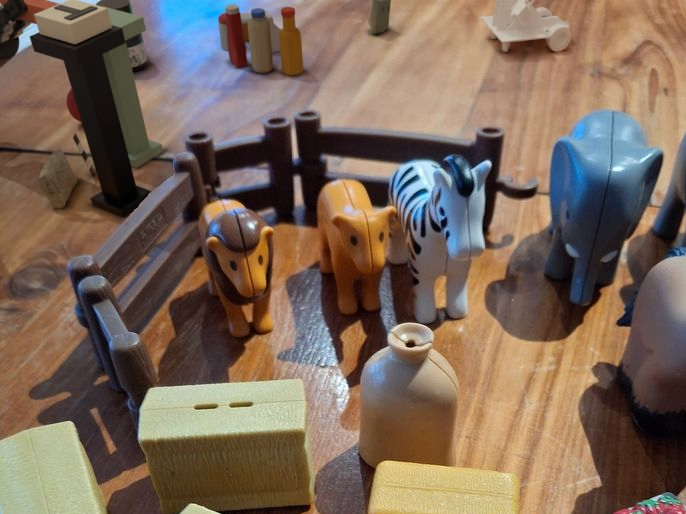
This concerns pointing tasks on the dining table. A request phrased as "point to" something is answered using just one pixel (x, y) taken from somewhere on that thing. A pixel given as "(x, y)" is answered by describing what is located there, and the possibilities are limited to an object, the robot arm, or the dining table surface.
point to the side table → (129, 91)
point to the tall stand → (98, 116)
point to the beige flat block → (66, 19)
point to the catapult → (526, 24)
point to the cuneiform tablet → (60, 176)
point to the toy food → (261, 39)
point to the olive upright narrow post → (379, 16)
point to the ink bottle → (135, 43)
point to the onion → (72, 106)
